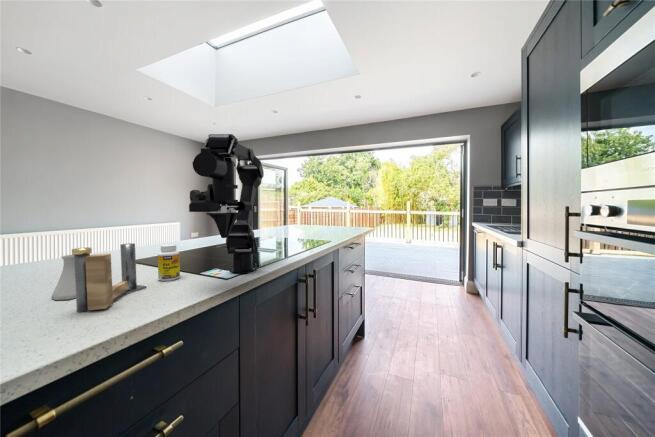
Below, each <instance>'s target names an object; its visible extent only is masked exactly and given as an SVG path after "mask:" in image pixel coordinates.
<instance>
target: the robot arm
mask: <svg viewBox="0 0 655 437" xmlns="http://www.w3.org/2000/svg"><path fill="white" fill-rule="evenodd" d="M238 141H239V140H238V138H237V137H236V136H235V135H234V134H233V133H226V134H225V133H217V134H215V133H212V134H208V137H207V138H206V140H205V141H204V144H203V146H202V147H200V152H199V153H198V154H197V155H196V156H194V159H193V161H192V169H193V171H194V173H196V174H197V175H199V176H200V177H203V178H204V177H205V178H209V179H211V183H209V184H208V185H207V190H205V191H201V190H199V189H192V190H191V191H189V201H190V202H189V205H188V212H189V213H204V212H205V215H207V216H210V218H212V219H213V221H214V223H215V225H216V227H217V230H218V233H219V235H220V237H221V239H225V245H226V250H227V254H228V255H231V254H232V269H231V270H229V273H230V272H239V273H238V274H243V273H247V274H249V273H251V272H250V271H252V270H254V269H256V270H257V269H258V268H257V267H254V259H253V255H254V254H258V253H259V251H258V249H259V244H258V242H257V240H256V237H255V232H254V230H253V228H252V226H251V224H252V217H253V210H254V202H255V196H256V190H257V188H258V187H260V185H261V184H262V182H263V181H262V180H263V178H264V176H265V175H264V174H265V173H264V168H263V165H262V162H261V160H260V159H259V158H258V157H257V156H256V155H255V153H254V150H253V149H252V148H250V147H246V145H245V146H244V145H242V144H240V143H239V142H238ZM232 158H235V159H237V163H235V162H234V160H233V159H232ZM241 161H250V163H251V164H248V165H247V164H243V165H241ZM235 169H236V172H237V175H238V179H239V181H240V183H241V189H240V191H241V192H240V196H239V199H235V198H236V197H235V196H236V195H235V190H237V189H239V188H238V187H239V186H238V184H235ZM254 271H255V270H254ZM248 272H249V273H248ZM252 272H253V271H252Z"/></svg>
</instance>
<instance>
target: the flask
mask: <svg viewBox="0 0 655 437" xmlns="http://www.w3.org/2000/svg"><path fill="white" fill-rule="evenodd" d="M61 259H63V266H62V270H61V271H62V272H61V274H60V276H59V279H58V281H57V284H56V286H55V288H54V290H53V292H52V295H51V297H50V298H51V299H52V300H54V301H61V300H62V301H63V300H64V301H65V300H66V301H67V300H73V299H76V285H75V266H74V255H72V254H65V255H61Z"/></svg>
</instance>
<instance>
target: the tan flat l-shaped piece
mask: <svg viewBox="0 0 655 437" xmlns="http://www.w3.org/2000/svg"><path fill="white" fill-rule="evenodd" d="M85 262H86V283H87V303H88V310H89V311H94V310H105V309H107V308H108V307H110V306H111V305H113V304H114V299H115V298H117V297H119V295H121V294H123V292H124V291H126V290H128V289H129V287H128V281H122V280H120V281H119V282H118V283H115V284H114V285H113V278H112V277H113V274H112V272H113V271H112V254H111V253H96V254H90V256H87V257H85Z"/></svg>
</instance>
